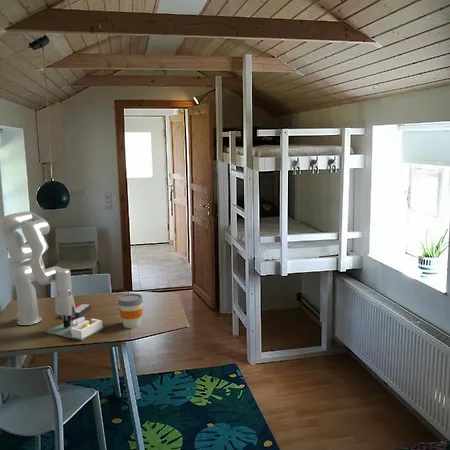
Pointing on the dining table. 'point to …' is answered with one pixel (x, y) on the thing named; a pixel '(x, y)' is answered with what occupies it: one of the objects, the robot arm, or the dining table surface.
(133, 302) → the reusable coffee cup
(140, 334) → the dining table surface
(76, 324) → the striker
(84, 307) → the calculator
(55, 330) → the pitch
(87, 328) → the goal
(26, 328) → the dining table surface
